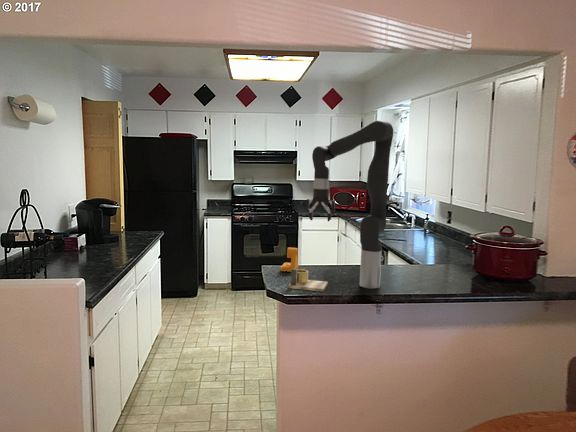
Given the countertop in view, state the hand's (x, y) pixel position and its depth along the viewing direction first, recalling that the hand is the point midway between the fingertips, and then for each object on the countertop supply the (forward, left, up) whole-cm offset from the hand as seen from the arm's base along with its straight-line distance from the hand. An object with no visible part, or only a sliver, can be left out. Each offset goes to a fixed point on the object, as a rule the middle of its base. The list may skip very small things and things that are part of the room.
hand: (319, 220), depth 225 cm
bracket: (+16, -3, -28) cm, 32 cm away
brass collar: (+4, +19, -26) cm, 32 cm away
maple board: (+1, +21, -27) cm, 34 cm away
